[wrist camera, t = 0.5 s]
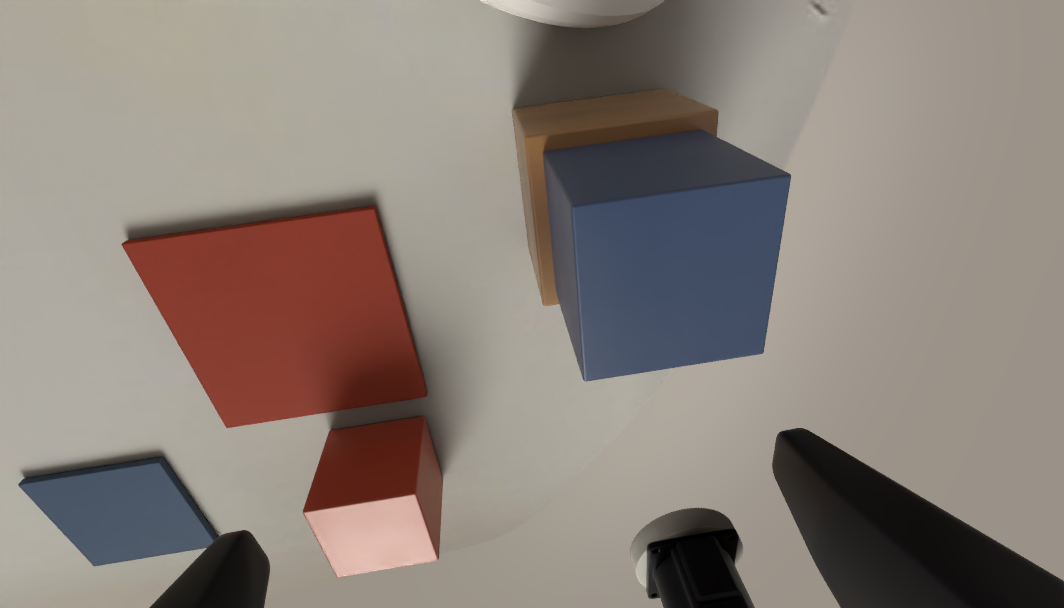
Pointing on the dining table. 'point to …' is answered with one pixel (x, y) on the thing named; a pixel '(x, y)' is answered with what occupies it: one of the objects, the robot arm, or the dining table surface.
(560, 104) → the oak stand
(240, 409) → the mat
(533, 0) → the game controller
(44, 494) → the slate mat
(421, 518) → the brick block
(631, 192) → the slate block
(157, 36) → the dining table surface
